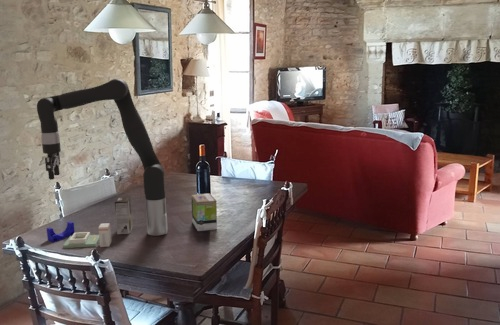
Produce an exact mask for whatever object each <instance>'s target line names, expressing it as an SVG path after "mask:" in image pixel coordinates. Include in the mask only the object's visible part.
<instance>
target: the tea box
mask: <svg viewBox="0 0 500 325" xmlns="http://www.w3.org/2000/svg"><path fill="white" fill-rule="evenodd" d="M190 199H191V221H192V222H191V223H192V224H193V226H194V227H195V229H196V231H197V232H204V231H211V230H217V228H218V225H217V224H218V221H217V220H218V216H217V215H218V214H217V213H218V212H217V211H218V210H217V208H218V207H217V200H216V198H215V197H214V196H213V195H212V194H211V193H209V192H208V193H201V194H200V193H199V194H191V198H190Z"/></svg>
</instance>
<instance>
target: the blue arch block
mask: <svg viewBox="0 0 500 325" xmlns="http://www.w3.org/2000/svg"><path fill="white" fill-rule="evenodd" d="M66 223H67V225H66V228H65V229H64V230H63V231H62V232H61V233H56V232H55V231H54V228H52V227H46V236H47V241H49V242H52V243H55V242H58V241H62V240H65V239H66V238H67V237H68V238H69V237H70V236H72V235H73V234H74V233H76V230H75V222H73V221H67V222H66Z"/></svg>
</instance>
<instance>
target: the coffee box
mask: <svg viewBox="0 0 500 325" xmlns="http://www.w3.org/2000/svg"><path fill="white" fill-rule="evenodd" d="M114 209H115V212H114V213H115V222H116V225H115V226H116V234H117V235H130V234H131V232H132V229H133V216H132V200H131V196H116V199H115V201H114Z"/></svg>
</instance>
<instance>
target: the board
mask: <svg viewBox="0 0 500 325" xmlns="http://www.w3.org/2000/svg"><path fill="white" fill-rule="evenodd" d="M99 242H100V241H99V234H91V232H90V231H81V232H75V233H74V234H73V235H71V236H68V238H67V239H66V241H65V242H64V243H63V244H62V249H68V248H69V249H70V248H73V249H74V248H89V247H97V244H98V243H99Z"/></svg>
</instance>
